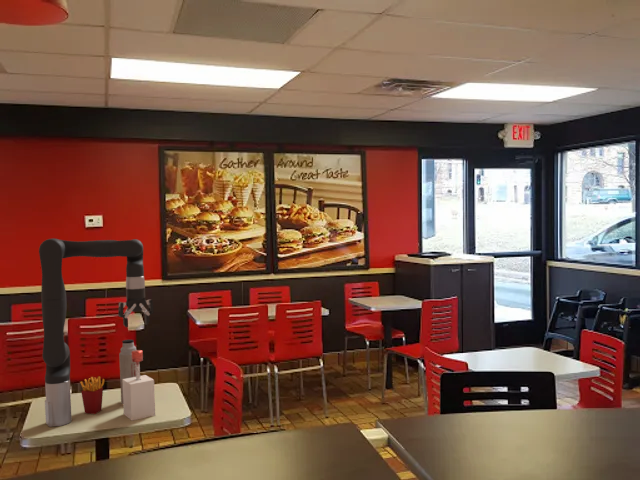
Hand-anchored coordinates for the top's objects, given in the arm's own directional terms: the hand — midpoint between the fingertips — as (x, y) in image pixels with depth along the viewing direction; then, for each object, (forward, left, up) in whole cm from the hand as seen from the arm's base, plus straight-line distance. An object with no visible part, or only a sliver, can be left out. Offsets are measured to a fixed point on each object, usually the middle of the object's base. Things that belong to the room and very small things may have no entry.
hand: (136, 325), depth 252 cm
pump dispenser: (0, 0, -38) cm, 38 cm away
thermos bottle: (+3, +20, -38) cm, 43 cm away
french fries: (-14, +18, -38) cm, 44 cm away
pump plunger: (0, 0, -31) cm, 31 cm away
